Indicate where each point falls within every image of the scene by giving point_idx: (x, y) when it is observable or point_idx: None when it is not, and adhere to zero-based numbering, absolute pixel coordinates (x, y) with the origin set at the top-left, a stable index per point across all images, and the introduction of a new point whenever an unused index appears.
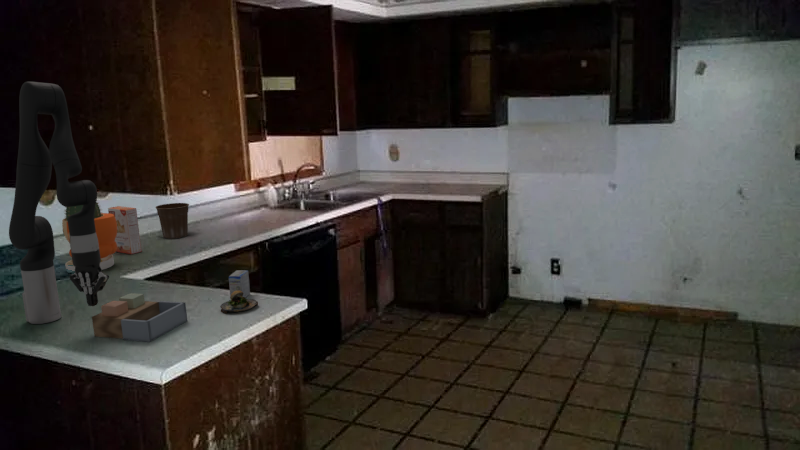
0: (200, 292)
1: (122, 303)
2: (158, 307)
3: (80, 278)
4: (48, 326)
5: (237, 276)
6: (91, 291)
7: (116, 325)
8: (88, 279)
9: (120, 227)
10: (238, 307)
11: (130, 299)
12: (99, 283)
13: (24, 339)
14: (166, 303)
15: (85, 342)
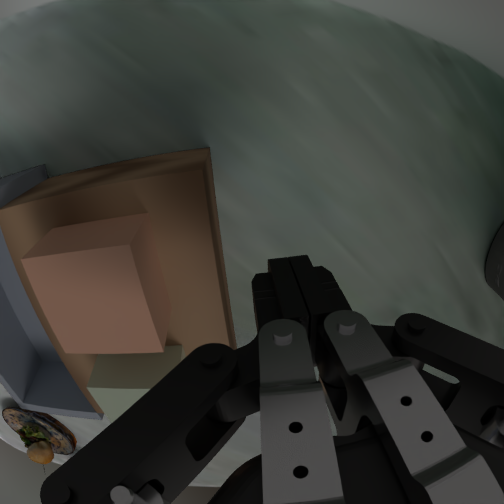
0: (219, 477)
1: (48, 320)
2: None
3: (455, 446)
4: (486, 202)
5: None
6: (267, 345)
7: (51, 188)
8: (294, 486)
9: None
10: (25, 423)
11: (100, 384)
12: (114, 442)
13: (478, 69)
14: (68, 406)
15: (184, 71)
